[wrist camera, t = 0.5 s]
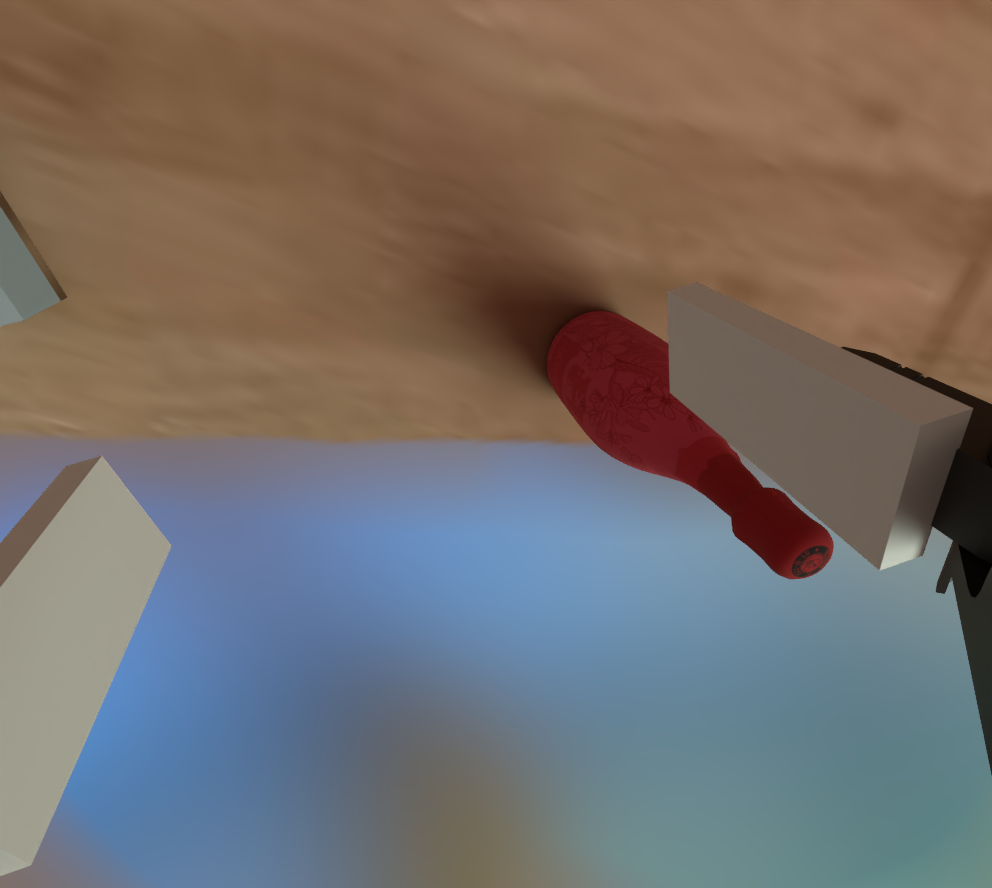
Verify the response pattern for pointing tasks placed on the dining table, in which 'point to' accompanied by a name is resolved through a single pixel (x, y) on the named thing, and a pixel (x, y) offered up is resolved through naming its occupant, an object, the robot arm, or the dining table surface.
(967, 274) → the dining table surface
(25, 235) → the board
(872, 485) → the robot arm
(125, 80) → the dining table surface
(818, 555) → the wine bottle
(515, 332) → the dining table surface
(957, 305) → the dining table surface
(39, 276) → the socket
